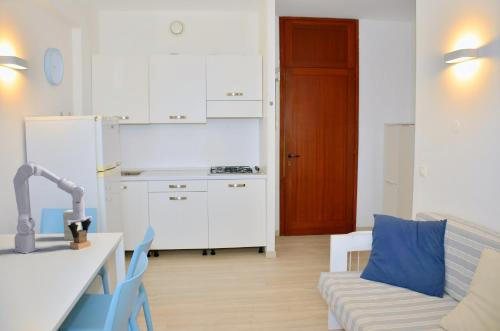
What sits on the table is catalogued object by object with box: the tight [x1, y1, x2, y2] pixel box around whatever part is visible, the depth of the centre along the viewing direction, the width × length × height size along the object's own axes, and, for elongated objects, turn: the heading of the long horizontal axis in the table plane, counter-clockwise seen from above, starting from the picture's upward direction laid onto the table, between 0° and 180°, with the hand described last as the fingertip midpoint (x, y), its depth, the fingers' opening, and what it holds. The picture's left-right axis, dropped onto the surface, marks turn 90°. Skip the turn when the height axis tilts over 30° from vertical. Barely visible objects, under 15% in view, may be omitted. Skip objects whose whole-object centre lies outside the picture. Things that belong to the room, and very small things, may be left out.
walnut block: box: [73, 229, 88, 243], centre depth 216 cm, size 4×4×6 cm
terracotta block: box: [69, 239, 92, 250], centre depth 216 cm, size 7×7×3 cm
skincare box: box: [62, 209, 82, 241], centre depth 231 cm, size 8×7×16 cm
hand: (80, 235), depth 216 cm, fingers open, 6 cm apart
